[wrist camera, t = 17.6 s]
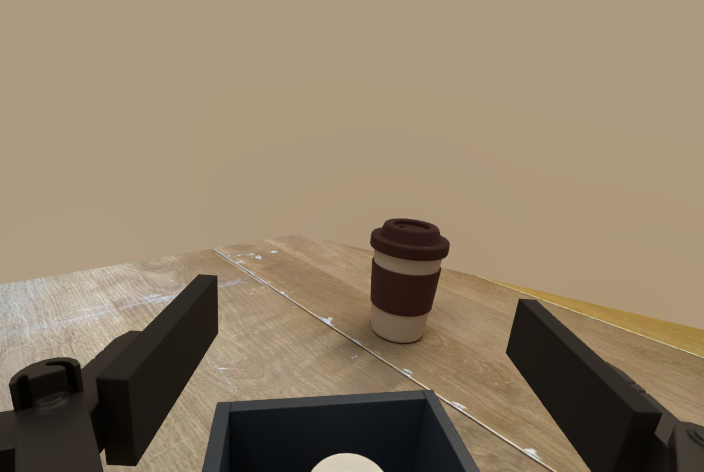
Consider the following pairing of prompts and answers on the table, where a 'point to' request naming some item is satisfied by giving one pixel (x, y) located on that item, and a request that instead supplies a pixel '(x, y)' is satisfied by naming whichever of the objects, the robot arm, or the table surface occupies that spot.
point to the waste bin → (336, 433)
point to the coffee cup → (404, 277)
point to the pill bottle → (346, 464)
